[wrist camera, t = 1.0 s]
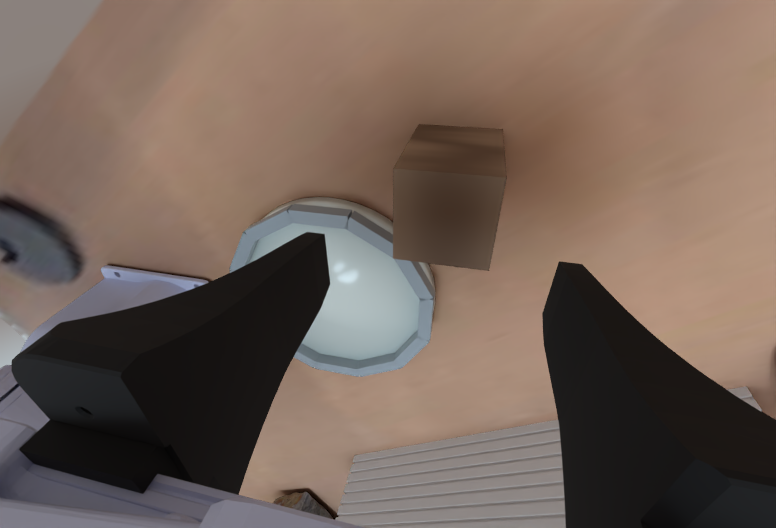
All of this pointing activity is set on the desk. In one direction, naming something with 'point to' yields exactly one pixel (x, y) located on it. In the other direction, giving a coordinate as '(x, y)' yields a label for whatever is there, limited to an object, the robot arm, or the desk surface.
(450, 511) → the grey ribbed box
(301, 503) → the geological specimen
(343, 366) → the dish
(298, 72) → the desk surface
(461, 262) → the block
